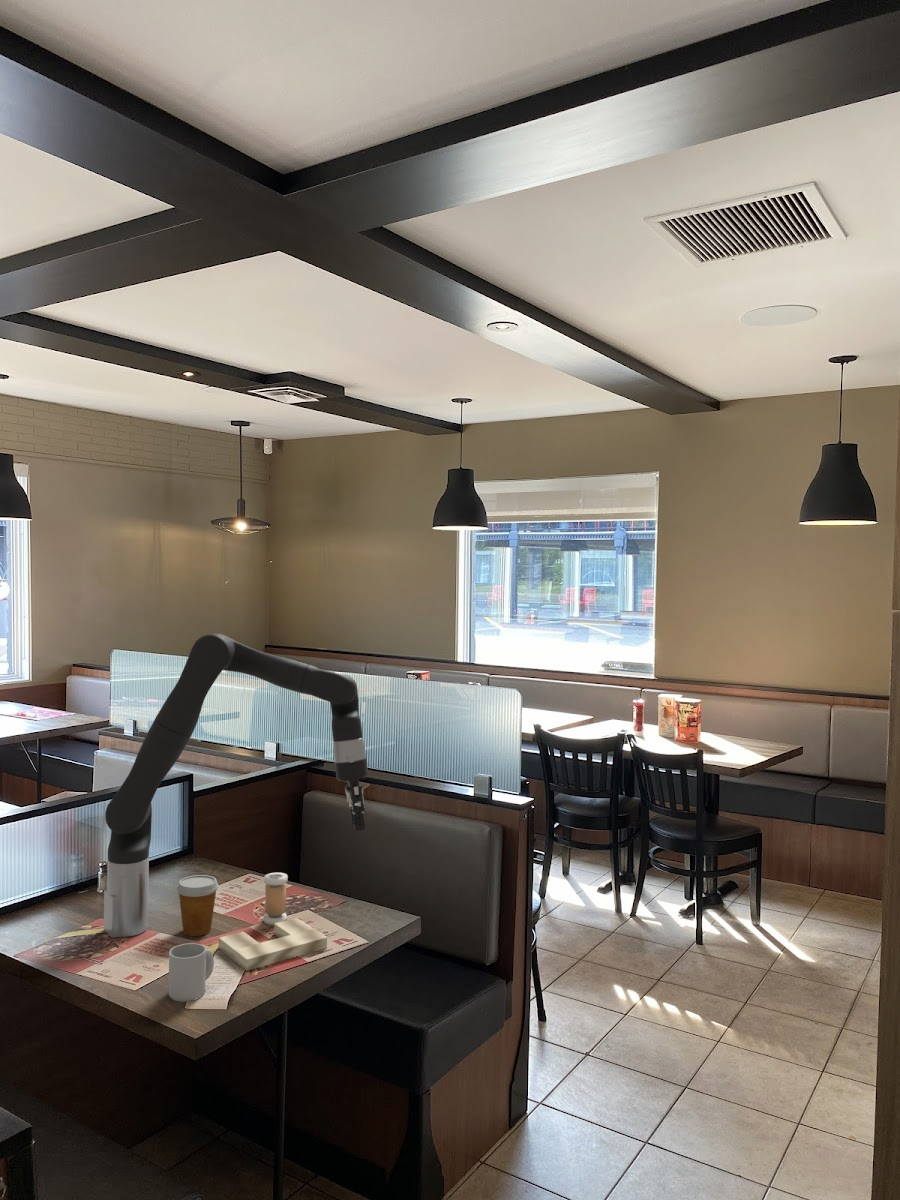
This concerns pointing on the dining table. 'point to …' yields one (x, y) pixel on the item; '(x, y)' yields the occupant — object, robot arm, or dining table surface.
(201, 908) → the disposable coffee cup
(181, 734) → the robot arm
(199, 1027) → the dining table surface
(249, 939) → the notched board
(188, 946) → the cup
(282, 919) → the bobbin
